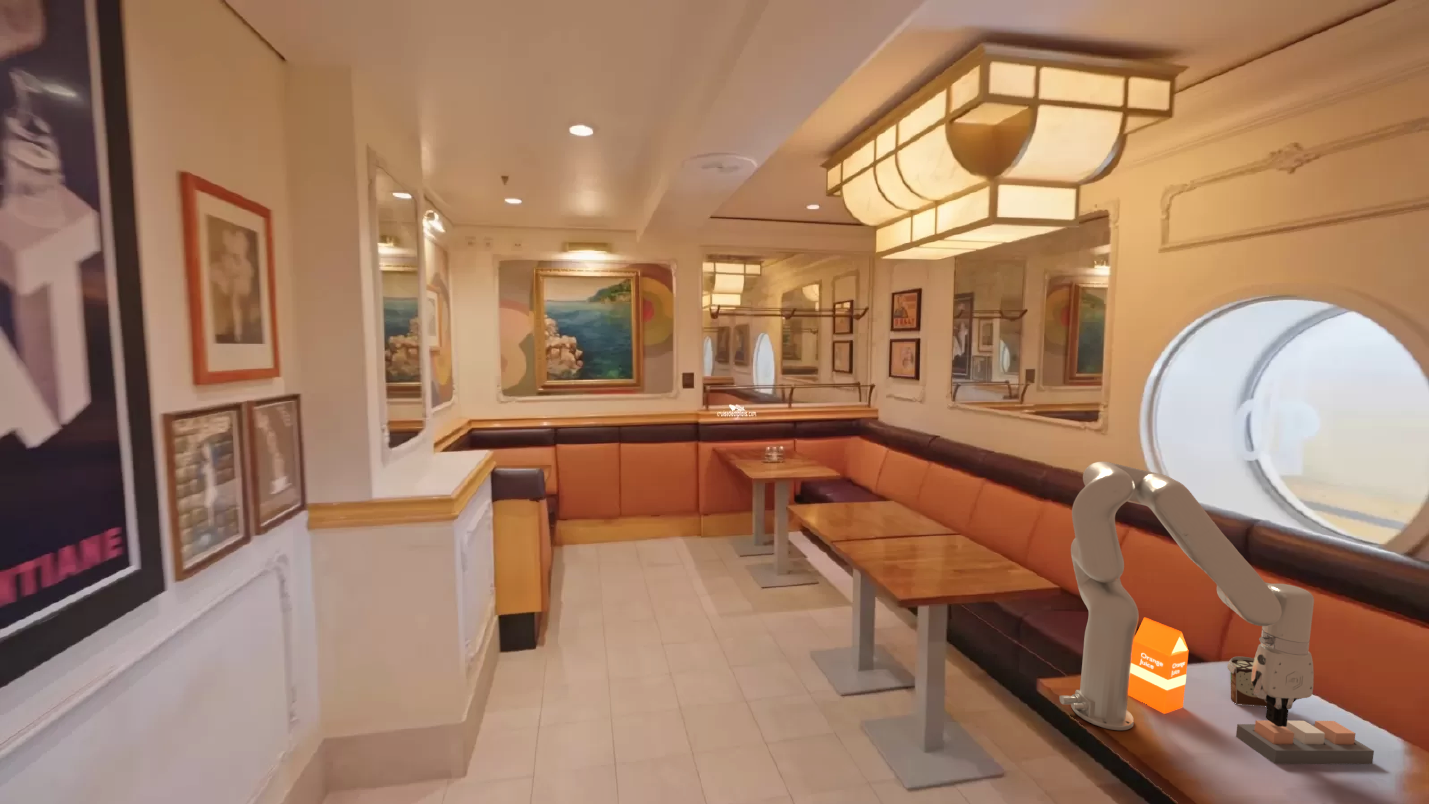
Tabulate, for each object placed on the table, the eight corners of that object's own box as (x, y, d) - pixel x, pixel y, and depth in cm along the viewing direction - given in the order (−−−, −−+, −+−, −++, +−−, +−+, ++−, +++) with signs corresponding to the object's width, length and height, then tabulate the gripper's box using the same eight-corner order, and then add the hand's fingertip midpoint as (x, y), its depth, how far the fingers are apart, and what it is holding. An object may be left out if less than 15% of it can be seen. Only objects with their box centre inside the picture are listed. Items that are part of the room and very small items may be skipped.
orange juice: (1164, 714, 145) (1172, 634, 143) (1126, 694, 153) (1133, 619, 151) (1183, 707, 148) (1191, 629, 146) (1145, 688, 156) (1152, 614, 154)
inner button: (1272, 750, 130) (1274, 732, 130) (1253, 737, 134) (1255, 720, 134) (1292, 750, 130) (1294, 733, 130) (1272, 737, 135) (1274, 720, 134)
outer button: (1334, 750, 131) (1336, 733, 130) (1313, 737, 135) (1315, 720, 135) (1353, 750, 131) (1355, 733, 130) (1331, 737, 135) (1333, 720, 135)
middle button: (1303, 750, 130) (1305, 733, 130) (1283, 737, 135) (1285, 720, 134) (1322, 750, 130) (1324, 733, 130) (1302, 737, 135) (1304, 720, 134)
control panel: (1274, 763, 128) (1275, 750, 127) (1235, 736, 137) (1237, 724, 136) (1372, 764, 129) (1374, 750, 128) (1327, 737, 138) (1329, 724, 137)
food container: (1262, 694, 155) (1267, 657, 154) (1283, 708, 149) (1287, 670, 148) (1211, 690, 156) (1215, 653, 155) (1229, 704, 150) (1233, 665, 149)
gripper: (1268, 651, 126) (1259, 733, 128) (1335, 651, 127) (1326, 733, 128) (1235, 634, 134) (1227, 712, 135) (1299, 634, 134) (1291, 712, 136)
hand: (1275, 722), depth 132 cm, fingers closed
